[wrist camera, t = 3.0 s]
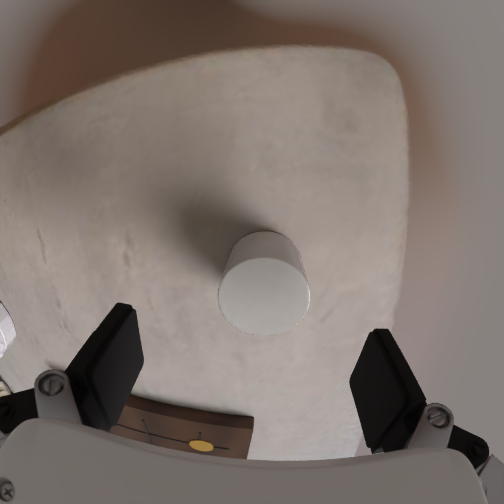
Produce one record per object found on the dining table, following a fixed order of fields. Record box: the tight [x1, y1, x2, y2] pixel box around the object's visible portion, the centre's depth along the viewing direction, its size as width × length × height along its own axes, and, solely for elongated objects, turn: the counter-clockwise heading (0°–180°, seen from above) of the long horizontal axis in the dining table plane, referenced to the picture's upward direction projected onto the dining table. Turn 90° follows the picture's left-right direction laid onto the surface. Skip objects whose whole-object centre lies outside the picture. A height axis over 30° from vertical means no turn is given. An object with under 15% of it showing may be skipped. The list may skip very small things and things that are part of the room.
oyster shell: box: [0, 379, 12, 397], centre depth 28 cm, size 6×4×10 cm
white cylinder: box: [218, 231, 310, 336], centre depth 16 cm, size 5×5×4 cm
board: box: [99, 395, 254, 459], centre depth 27 cm, size 22×22×2 cm
